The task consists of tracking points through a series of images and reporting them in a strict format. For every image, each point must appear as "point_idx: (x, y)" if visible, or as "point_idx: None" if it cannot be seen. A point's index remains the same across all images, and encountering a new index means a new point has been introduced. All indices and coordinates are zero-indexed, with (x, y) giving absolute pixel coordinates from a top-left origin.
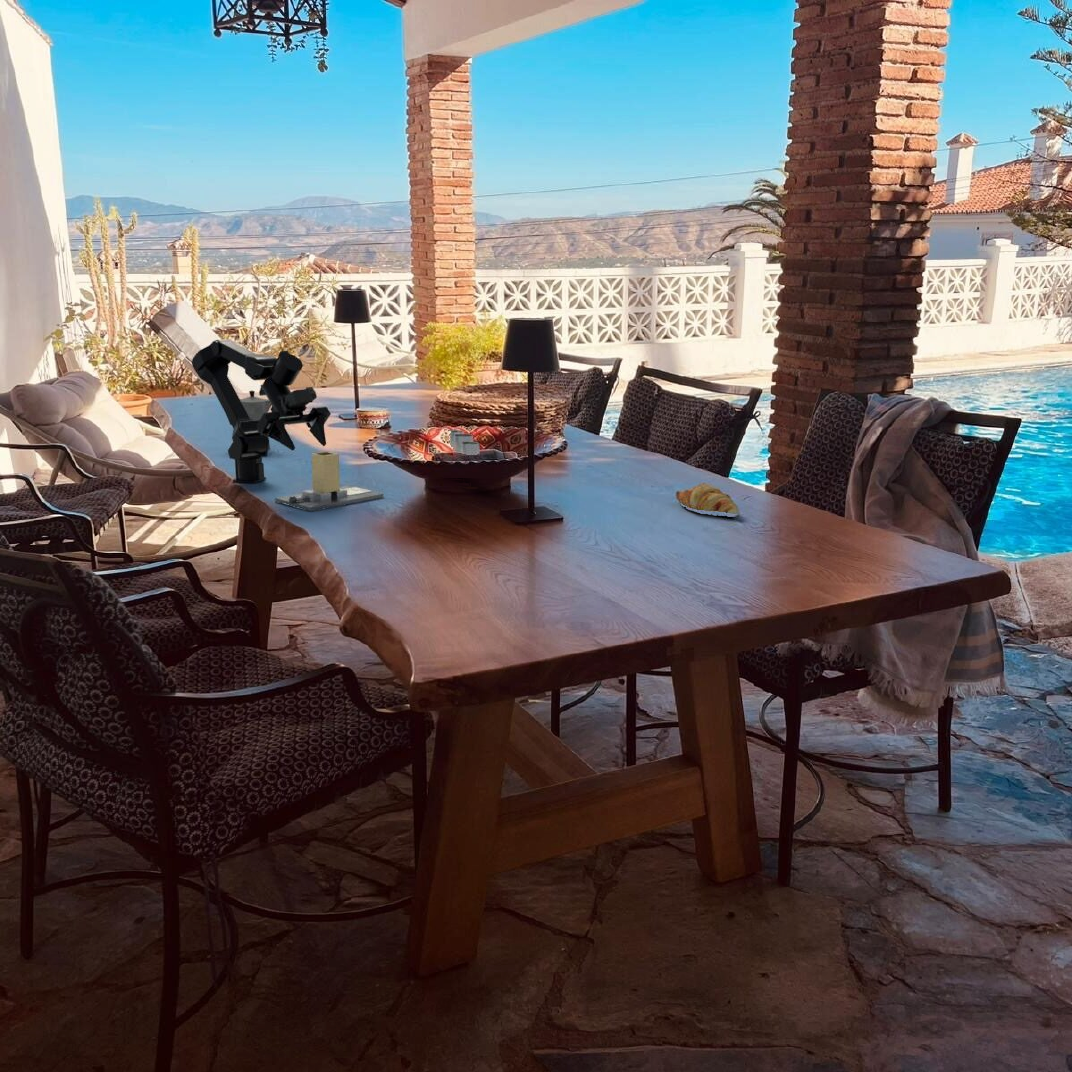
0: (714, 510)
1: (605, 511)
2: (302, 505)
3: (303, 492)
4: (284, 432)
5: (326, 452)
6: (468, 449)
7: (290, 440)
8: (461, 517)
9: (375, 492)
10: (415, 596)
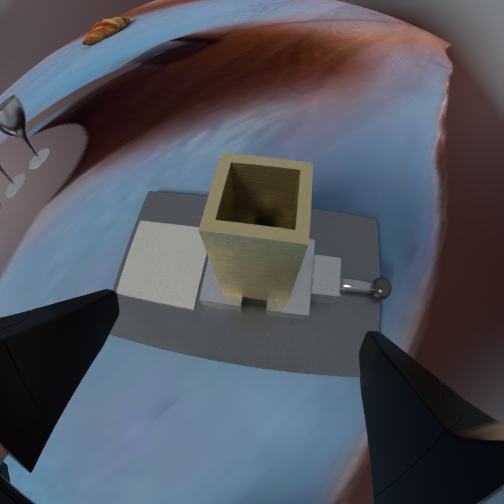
0: (125, 22)
1: (129, 43)
2: (378, 247)
3: (338, 292)
4: (457, 404)
5: (216, 220)
6: (19, 103)
7: (400, 360)
8: (222, 66)
9: (145, 211)
10: (419, 47)
